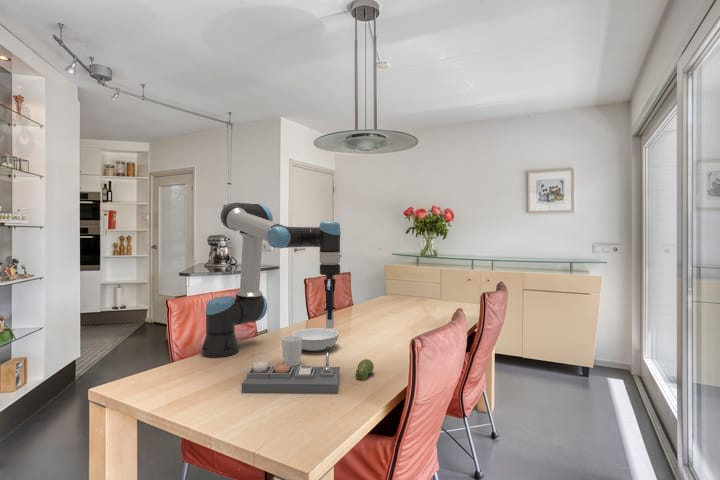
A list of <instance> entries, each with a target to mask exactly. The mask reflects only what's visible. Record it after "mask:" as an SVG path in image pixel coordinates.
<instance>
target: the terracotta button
mask: <svg viewBox="0 0 720 480" xmlns="http://www.w3.org/2000/svg"><path fill="white" fill-rule="evenodd" d="M274 366H275V373H289V367H290V366H289V364H284V363H277V364H276V365H274Z"/></svg>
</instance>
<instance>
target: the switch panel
mask: <svg viewBox="0 0 720 480" xmlns="http://www.w3.org/2000/svg"><path fill="white" fill-rule="evenodd" d="M324 367H325V366H312V370H311V375H298V373H299V370H300V366H290V367H289V373H275V365H272V366H270V365H268V371H266V372H263V373H255V372H253V365H252V366H251V368H250V369H249V370H248V371H247V373H246V378H245V379H244V380H243V381H242V383H241V393H243V394H247V393H248V394H251V393H252V394H255V393H258V394H261V393H262V394H338V392H339V391H338V389H339V382H340V374H341V373H340V369H341V367H340V366H330V367H331V372H323V368H324Z"/></svg>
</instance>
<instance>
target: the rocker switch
mask: <svg viewBox="0 0 720 480" xmlns="http://www.w3.org/2000/svg"><path fill="white" fill-rule="evenodd" d="M299 367H300V370H299V373H298V375H311V370H312V367H313V366H312V365H299Z"/></svg>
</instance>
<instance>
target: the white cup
mask: <svg viewBox="0 0 720 480" xmlns="http://www.w3.org/2000/svg"><path fill="white" fill-rule="evenodd" d="M281 346H282V347H281V349H282V358H283V360H282V361H283V363H282V364H289V366H294V367H297V366H298V365H299V366H300V364H302V363H301V362H302V361H301V358H302V351H303V349H302V337H300V336H292V335H286V336H283V337H282V338H281Z"/></svg>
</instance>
